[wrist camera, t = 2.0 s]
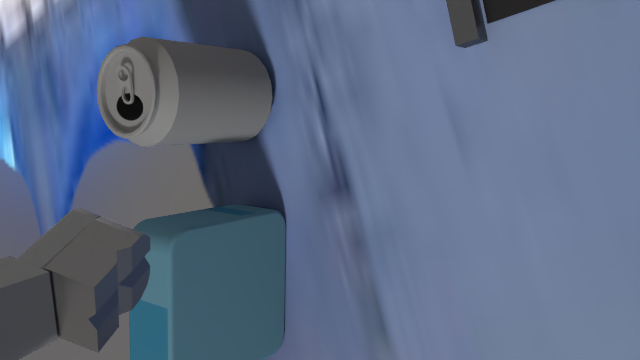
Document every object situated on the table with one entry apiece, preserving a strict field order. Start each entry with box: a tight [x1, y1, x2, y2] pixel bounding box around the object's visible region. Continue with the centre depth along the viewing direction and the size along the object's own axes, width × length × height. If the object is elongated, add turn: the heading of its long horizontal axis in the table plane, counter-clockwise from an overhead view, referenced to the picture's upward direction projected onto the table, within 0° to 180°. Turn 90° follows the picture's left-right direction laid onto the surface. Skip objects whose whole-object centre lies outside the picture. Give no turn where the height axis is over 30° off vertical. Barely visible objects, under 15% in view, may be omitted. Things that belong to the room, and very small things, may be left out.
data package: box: [129, 204, 286, 360], centre depth 45 cm, size 12×4×12 cm, turn 177°
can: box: [97, 37, 272, 147], centre depth 44 cm, size 8×8×12 cm
